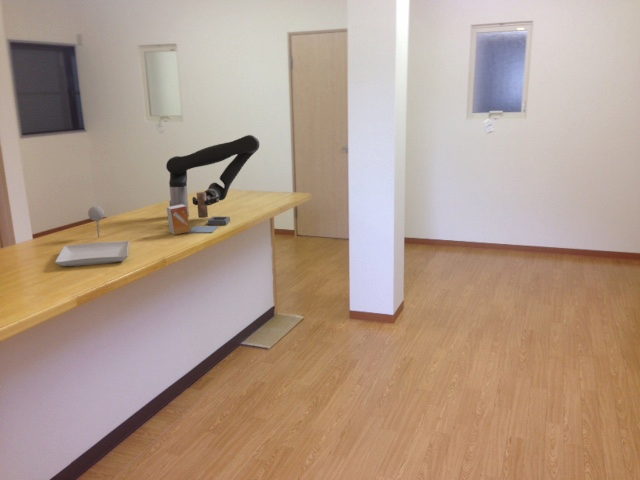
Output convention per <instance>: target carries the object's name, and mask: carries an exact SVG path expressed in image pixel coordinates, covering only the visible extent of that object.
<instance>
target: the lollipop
mask: <svg viewBox="0 0 640 480" xmlns="http://www.w3.org/2000/svg"><path fill="white" fill-rule="evenodd" d="M87 215H88V218H89V220H92V221H93V222H96V229H97V237H98V238H100V229H99V227H100V226H99V221H101V220H103V218H104V217H105V211H104V209H103V208H102V207H101V206H98V205H96V206H95V205H94V206H91V207H90V208H89V209H88V212H87Z"/></svg>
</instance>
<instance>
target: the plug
mask: <svg viewBox="0 0 640 480" xmlns="http://www.w3.org/2000/svg"><path fill="white" fill-rule="evenodd" d="M196 198H197V205H196V206H197V213H198V214H197V216H198V218H199V219H204V218H205V219H206V218H208V216H209V215H208V214H209V213H208V206H207V205H205V200H207V198H206V192H204V191H203V192H202V191H201V192H200V191H199V192H196Z"/></svg>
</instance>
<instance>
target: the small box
mask: <svg viewBox="0 0 640 480" xmlns="http://www.w3.org/2000/svg"><path fill="white" fill-rule="evenodd" d="M166 213H167V219H168V225H169V231H170V234H172V235H174V236H176V235H180V234H184V233H188V232H190V230H191V229H190V224H189V223H190V222H189V216H188V214H187V208H186V206H185V205H183V204H181V205H175V206H171V207H170V206H167V207H166Z"/></svg>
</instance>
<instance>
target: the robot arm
mask: <svg viewBox="0 0 640 480" xmlns="http://www.w3.org/2000/svg"><path fill="white" fill-rule="evenodd" d="M259 148H260V141H259V139H258V138H257V137H256V136H254V135H252V134H246V135H244V136H242V137H239V138H237V139H235V140H232V141H229V142H224V143H219V144H218V143H217V144H214V145H210V146H208V147H205V148H202V149H200V150H199V149H198V150H197V151H195V152H192V153H191V154H188V155H183V156H182V155H181V156H178V155H176V156H173V157H171V158H169V159H168V160H167V162H166V164H165V165H166V166H165V169H166V170H167V171H168V172H169V182H168V183H169V196H170V200H169V201H168V202H169V207H171V206H175V205H181V204H183V205H185V206H186V208H187V214H188V217H189V216H190V212H189V199H188V186H187V181H188V172H187V171H188V170H190V169H193V168H199V167H204V166H209V165H214V164H217V163H220V162H223V161H225V160H227V159H229V158H231V157H234V156H235V157H234V159H233V158H232V161H230V162H229V163H228V165H227V166H226V167H225V168H224V170H223V172H222V173H221V175H219V180H220V181H221V182H222V184H223V186H222V185H220V184H219V183H218V182H212V183H210V184H209V186H208V188H207V190H205V191H203V192H206V198H207V200H205V205H207V207H208V206H212V205H213V204H214V205H215V204H216V203H219V202H220V201H224V200H225V199H226V197H227V195H228V193H229V189H230V186H231V185H232V183H233V181H234V180H235V179H236V178H237V176H238V175H239V173H240V171H241V169H242V168H243V167H244V166H245V164H246V163H247V161H248V160H249V159H250V158H251V157H252V156H254V154H255V153H256V152H257V151H258V150H259ZM191 199H192V204H193V205H194V206H198V205H197V196H196V197H195V196H192V197H191Z"/></svg>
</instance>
